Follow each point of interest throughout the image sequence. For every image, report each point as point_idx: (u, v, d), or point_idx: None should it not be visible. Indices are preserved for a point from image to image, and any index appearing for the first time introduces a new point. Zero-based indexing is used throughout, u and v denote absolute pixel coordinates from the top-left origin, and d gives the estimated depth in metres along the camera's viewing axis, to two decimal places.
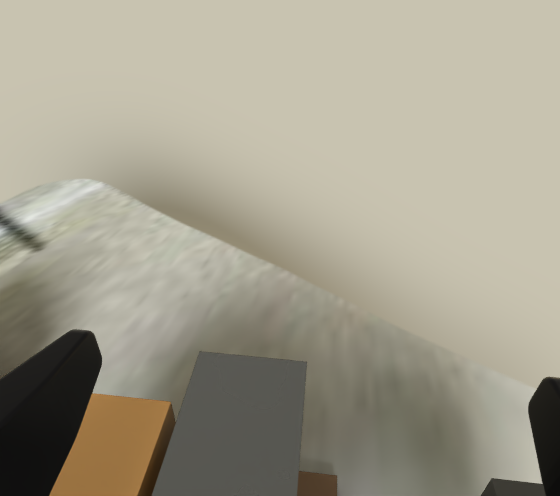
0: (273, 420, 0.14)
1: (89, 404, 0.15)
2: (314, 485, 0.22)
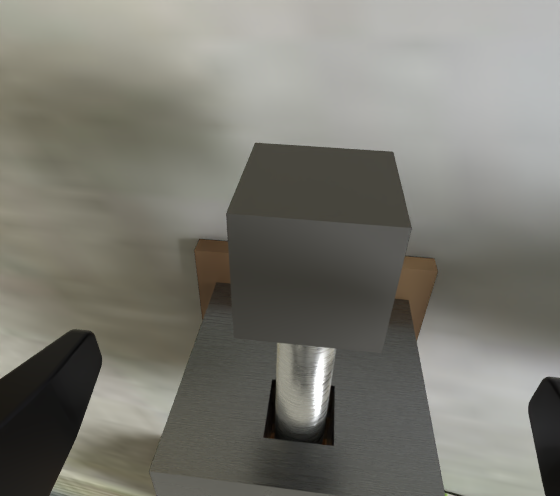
0: (221, 493, 0.15)
1: None
2: (208, 269, 0.22)
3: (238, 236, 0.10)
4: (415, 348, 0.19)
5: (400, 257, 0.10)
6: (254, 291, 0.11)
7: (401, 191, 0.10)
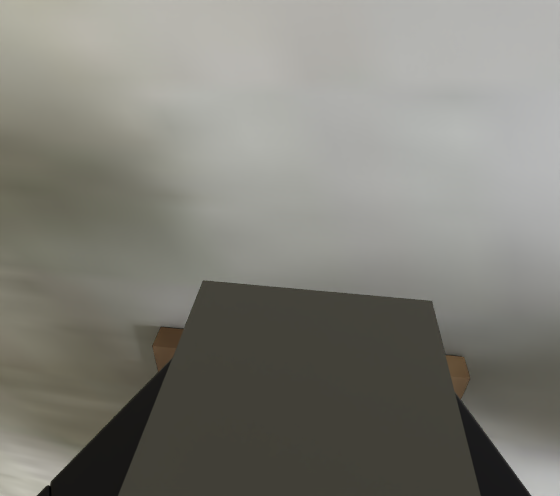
0: None
1: None
2: None
3: None
4: None
5: None
6: None
7: (461, 429, 0.05)
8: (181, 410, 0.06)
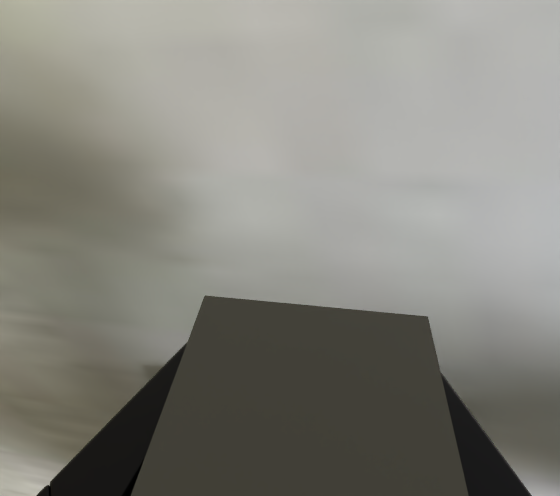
0: None
1: None
2: None
3: None
4: None
5: None
6: None
7: (454, 445, 0.06)
8: (184, 427, 0.06)
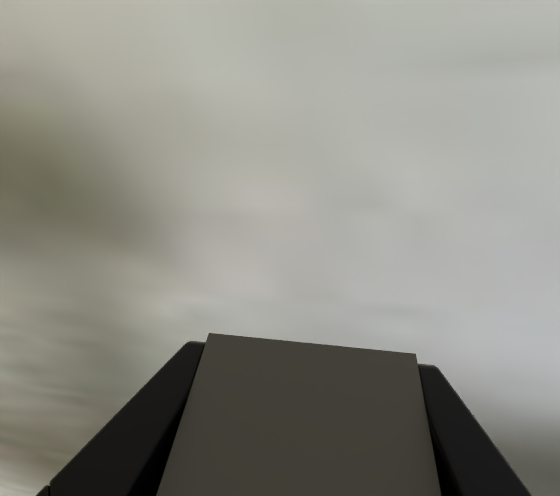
0: None
1: None
2: None
3: None
4: None
5: None
6: None
7: (436, 481, 0.06)
8: (192, 464, 0.06)
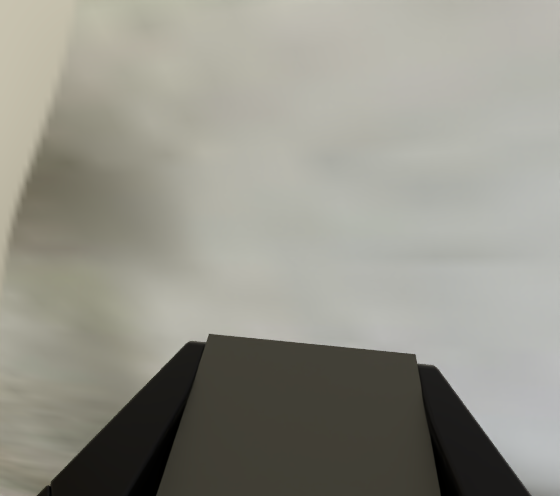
0: None
1: None
2: None
3: None
4: None
5: None
6: None
7: (436, 482, 0.06)
8: (192, 465, 0.06)
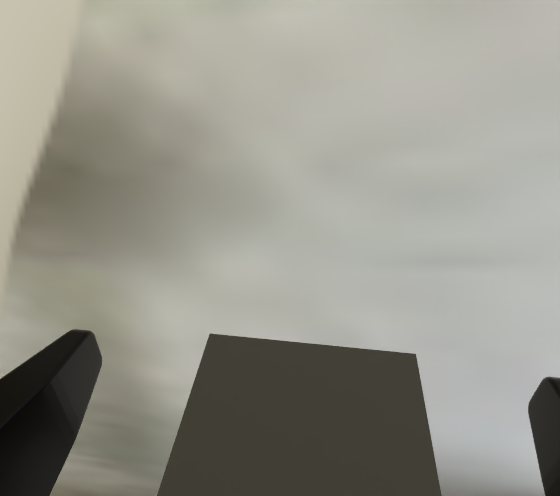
0: None
1: None
2: None
3: None
4: None
5: None
6: None
7: (436, 481, 0.06)
8: (193, 464, 0.06)
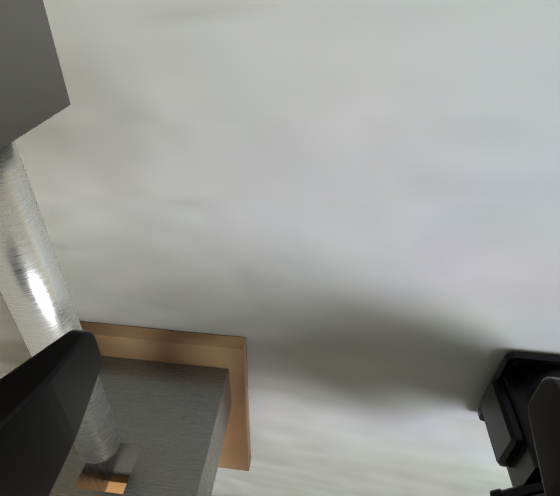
0: None
1: None
2: None
3: None
4: (215, 412, 0.26)
5: None
6: None
7: None
8: None
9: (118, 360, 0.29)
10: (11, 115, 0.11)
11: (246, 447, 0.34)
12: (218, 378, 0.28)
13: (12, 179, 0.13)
